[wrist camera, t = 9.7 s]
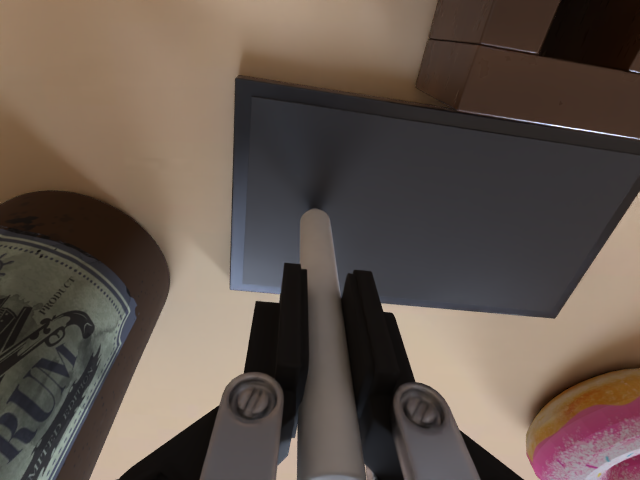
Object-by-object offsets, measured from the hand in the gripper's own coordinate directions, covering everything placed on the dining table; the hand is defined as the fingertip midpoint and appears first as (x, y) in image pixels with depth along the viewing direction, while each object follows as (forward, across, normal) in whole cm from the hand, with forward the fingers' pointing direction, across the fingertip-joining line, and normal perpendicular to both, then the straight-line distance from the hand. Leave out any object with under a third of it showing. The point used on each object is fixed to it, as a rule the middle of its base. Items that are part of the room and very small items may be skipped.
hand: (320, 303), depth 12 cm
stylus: (+7, 0, 0) cm, 7 cm away
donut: (+8, -26, +16) cm, 31 cm away
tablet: (+8, -6, 0) cm, 10 cm away
